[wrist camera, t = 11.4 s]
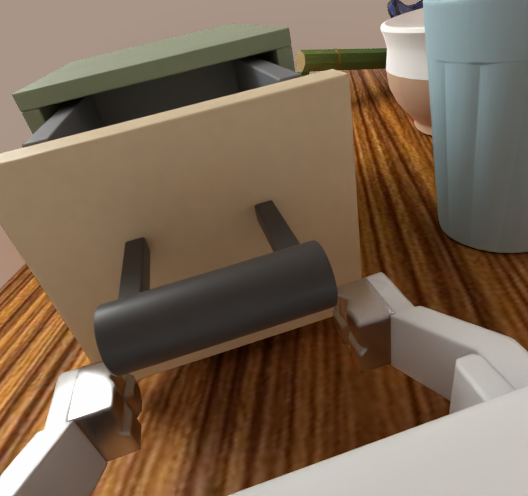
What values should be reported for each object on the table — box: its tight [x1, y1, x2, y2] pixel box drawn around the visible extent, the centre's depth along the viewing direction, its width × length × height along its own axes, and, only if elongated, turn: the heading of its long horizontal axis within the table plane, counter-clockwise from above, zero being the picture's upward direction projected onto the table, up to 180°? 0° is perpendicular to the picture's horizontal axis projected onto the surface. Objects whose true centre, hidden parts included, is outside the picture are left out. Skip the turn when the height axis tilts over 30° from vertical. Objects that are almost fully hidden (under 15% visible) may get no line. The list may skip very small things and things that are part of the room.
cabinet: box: [12, 24, 295, 134], centre depth 24 cm, size 13×11×10 cm
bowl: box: [380, 8, 432, 136], centre depth 29 cm, size 16×16×8 cm
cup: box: [423, 0, 528, 253], centre depth 17 cm, size 8×8×10 cm
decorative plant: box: [296, 48, 387, 76], centre depth 43 cm, size 6×8×30 cm
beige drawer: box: [0, 56, 362, 380], centre depth 16 cm, size 17×10×9 cm, turn 14°
